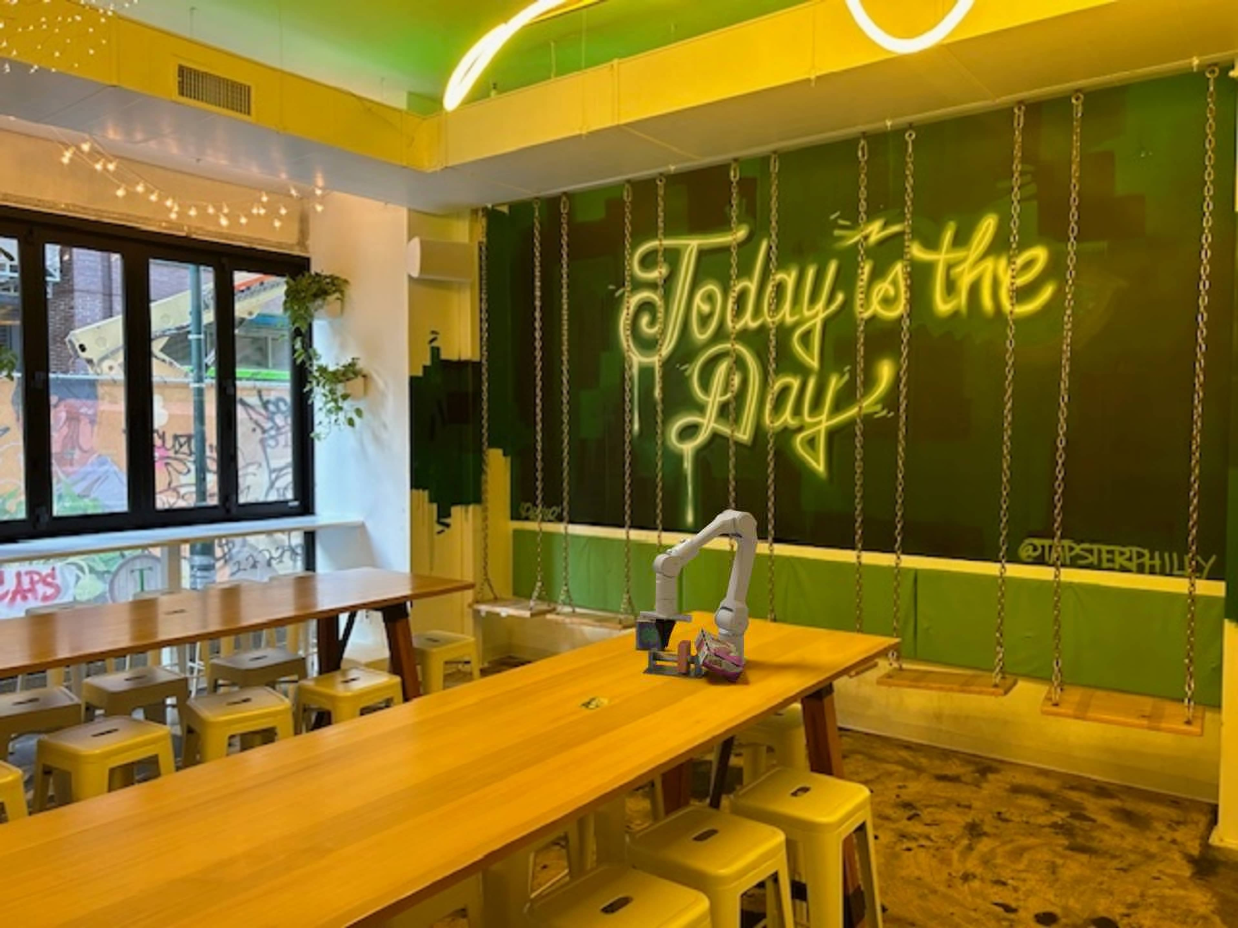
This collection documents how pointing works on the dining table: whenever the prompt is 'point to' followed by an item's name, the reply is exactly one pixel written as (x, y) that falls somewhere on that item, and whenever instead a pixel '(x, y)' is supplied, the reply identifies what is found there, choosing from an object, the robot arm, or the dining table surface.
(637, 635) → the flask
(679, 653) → the orange block
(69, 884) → the dining table surface
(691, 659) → the pipe rig
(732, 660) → the candy bar box
